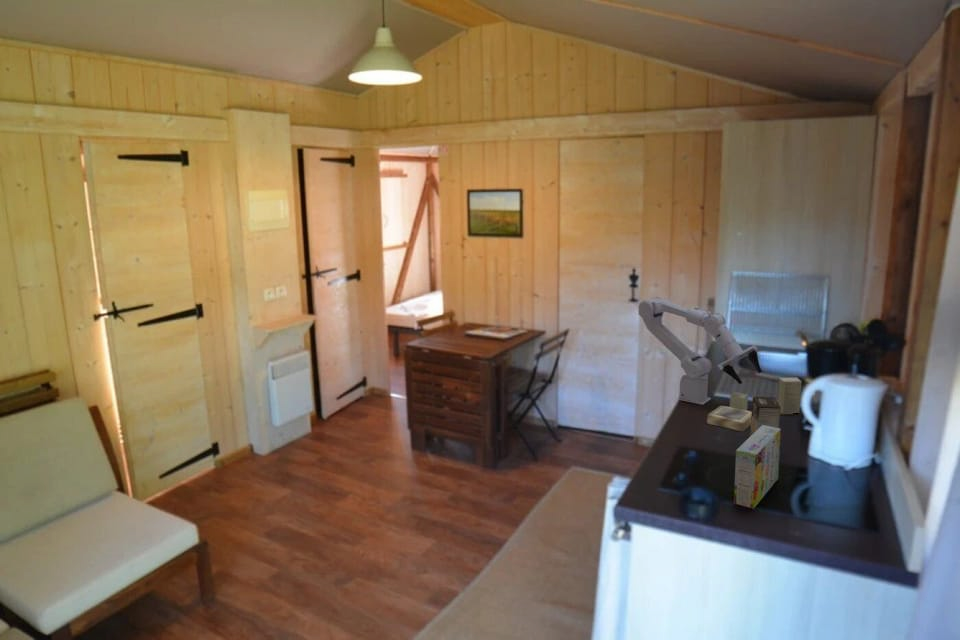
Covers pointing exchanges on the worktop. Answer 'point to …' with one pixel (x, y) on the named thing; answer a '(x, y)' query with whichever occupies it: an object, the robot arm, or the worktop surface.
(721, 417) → the base block
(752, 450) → the snack box
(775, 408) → the coffee box
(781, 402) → the skincare box
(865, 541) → the worktop surface
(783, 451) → the worktop surface
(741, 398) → the green block
